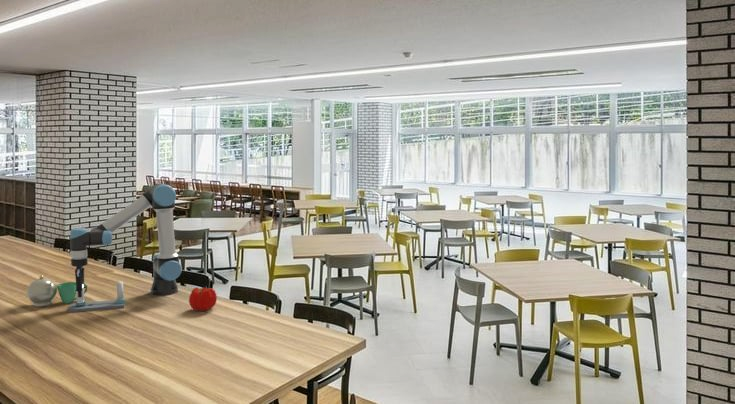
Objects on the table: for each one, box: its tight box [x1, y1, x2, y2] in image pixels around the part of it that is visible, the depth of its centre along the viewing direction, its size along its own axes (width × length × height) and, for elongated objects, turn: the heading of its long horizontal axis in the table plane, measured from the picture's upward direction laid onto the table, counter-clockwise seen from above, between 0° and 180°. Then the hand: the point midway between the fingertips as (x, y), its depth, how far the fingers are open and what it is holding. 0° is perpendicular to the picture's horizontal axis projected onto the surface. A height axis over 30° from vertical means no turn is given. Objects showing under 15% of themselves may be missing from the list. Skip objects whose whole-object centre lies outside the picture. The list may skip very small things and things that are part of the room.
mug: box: [56, 281, 88, 304], centre depth 292 cm, size 15×10×10 cm
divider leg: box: [75, 284, 87, 306], centre depth 279 cm, size 4×3×11 cm
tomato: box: [188, 287, 218, 312], centre depth 279 cm, size 13×14×12 cm
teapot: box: [26, 274, 58, 308], centre depth 284 cm, size 18×14×16 cm
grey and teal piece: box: [67, 281, 126, 313], centre depth 282 cm, size 26×12×12 cm, turn 111°
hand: (80, 301), depth 279 cm, fingers closed on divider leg, 3 cm apart
